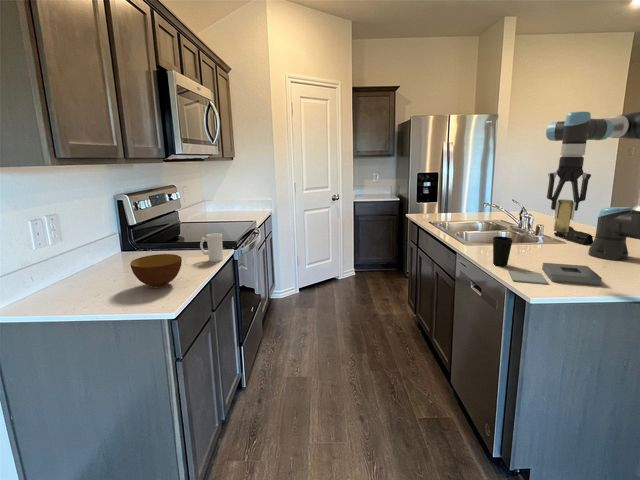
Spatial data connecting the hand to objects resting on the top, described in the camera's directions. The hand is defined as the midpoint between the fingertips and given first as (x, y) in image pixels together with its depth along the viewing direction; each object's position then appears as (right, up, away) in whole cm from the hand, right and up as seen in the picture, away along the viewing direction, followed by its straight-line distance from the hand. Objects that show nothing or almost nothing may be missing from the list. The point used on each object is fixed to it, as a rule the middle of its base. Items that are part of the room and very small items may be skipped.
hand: (562, 218), depth 147 cm
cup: (-13, -19, +22) cm, 32 cm away
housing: (+6, -23, +6) cm, 24 cm away
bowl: (-153, -26, -1) cm, 155 cm away
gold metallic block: (0, -5, +1) cm, 5 cm away
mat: (-11, -23, +5) cm, 26 cm away
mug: (-142, -18, +33) cm, 147 cm away
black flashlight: (+47, -9, +67) cm, 82 cm away
